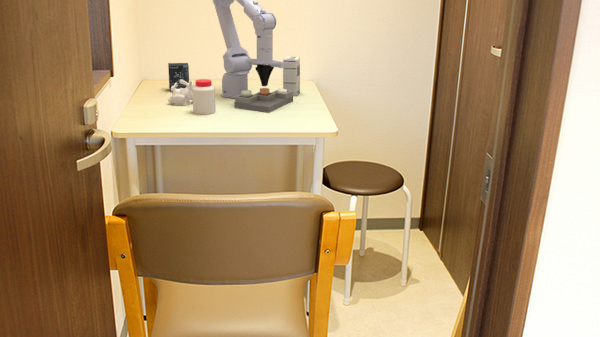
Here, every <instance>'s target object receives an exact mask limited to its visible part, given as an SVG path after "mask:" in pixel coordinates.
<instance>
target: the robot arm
mask: <svg viewBox="0 0 600 337" xmlns="http://www.w3.org/2000/svg"><path fill="white" fill-rule="evenodd" d="M235 1H236V3H238V4H239V5H241V7H243V12H244V14H245V15H246V16H247V17H248V18H249V19H250V20H251V21H252V25H253V28H254V35H256V58H251V56H250V55H249V53H248V52H249V51H248V50H247V49H245V48H244V47H242V46H241V42H240V39H239V38H240V37H239V36H238V32H237V28H236V25H235V21H234V18H233V14H232V10H231V4H234V2H235ZM212 3H213V4H214V9H215V13H216V15H217V19H218V24H219V26H220V29H221V32H222V36H223V41H224V43H225V47H226V51H225V53H223V55H222V59H223V68H224V70H225V73H224V74H223V75H222V79H221V88H222V90H221V93H222V95H220V96H221V97H222V98H228V99H229V98H231V99H235V97H236V96H238V95H241V91H243V90H248V87H249V85H248V83H249V82H248V81H249V79H248V77H249V76H248V74H250V71H251V70H252V69H253V68H252V67H253V66H255V71H256V73H257V75H258V77H259V80H260V84H261V87H267V86H268V85H269V79H270V78H271V77H270V76H271V74H272V73H273V70H274V68H278V69H283V67H284V62H283V61H279V60H274V59H273V56H274V55H273V46H274V45H273V44H274V42H273V40H274V39H273V37H274V35H273V34H274V33H273V32H274V31H273V30H275V28H276V26H277V18H276V16H275V15H274V13H271V12H267V11H266V10H265V9H264V8H263V7H262V6H261V5H260V4H259V2H258V1H257V0H212ZM251 95H253V94H252V93H251Z"/></svg>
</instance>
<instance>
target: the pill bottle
mask: <svg viewBox="0 0 600 337" xmlns="http://www.w3.org/2000/svg"><path fill="white" fill-rule="evenodd" d="M212 82H213V81H212V80H211V79H209V78H200V79H199V78H198V79H196V80H195V82H194V83H195V84H194V87H193V88H192V92H193V101H192V111H193V114H196V115H202V116H203V115H212V114H213V115H214V114H215V113H216V112H217V110H216V106H217V105H216V87H215V86H214V85H213V84H212Z"/></svg>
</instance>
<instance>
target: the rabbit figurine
mask: <svg viewBox="0 0 600 337" xmlns="http://www.w3.org/2000/svg"><path fill="white" fill-rule="evenodd" d="M179 82H180V83H181V84H184V85H186V88H180V89H176V88H175V87H177V86H178V85H176V84H177V82H176V83H175V84H174V86H172V87H171V91H172V94H171V95H170V96H169V97H168V98H167V102H168V103H169V104H170V105H173V104H174V105H175V106H184V105H185V106H189V105H193V92H192V88H193V87H194V86H195V84H194V83H193V81H190V80H189V83H187V82H186V81H184V80H182V79H180V81H179Z"/></svg>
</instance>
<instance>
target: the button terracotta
mask: <svg viewBox="0 0 600 337" xmlns="http://www.w3.org/2000/svg"><path fill="white" fill-rule="evenodd" d="M259 92H260V95H265V96H266V95H269V92H270V88H268V87H261V88H259Z"/></svg>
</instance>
